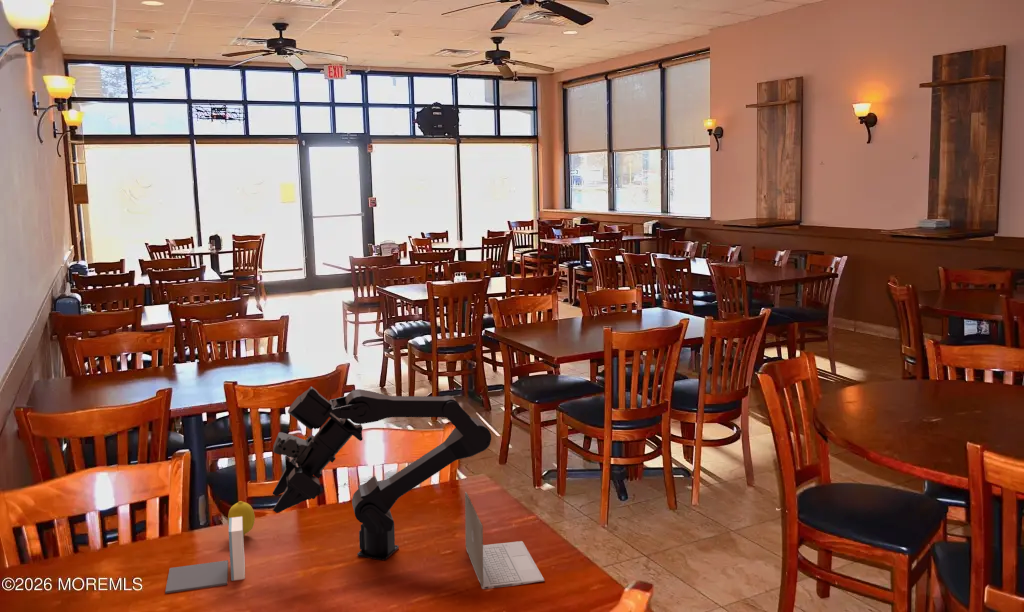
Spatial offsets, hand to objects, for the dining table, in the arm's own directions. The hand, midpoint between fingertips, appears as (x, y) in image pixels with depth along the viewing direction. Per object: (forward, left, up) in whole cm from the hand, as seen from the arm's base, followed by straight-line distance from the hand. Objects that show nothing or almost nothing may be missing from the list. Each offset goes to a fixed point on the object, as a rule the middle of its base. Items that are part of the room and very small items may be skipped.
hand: (274, 502), depth 164 cm
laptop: (-43, -16, -14) cm, 48 cm away
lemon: (+16, -9, -13) cm, 23 cm away
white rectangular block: (+6, +5, -13) cm, 15 cm away
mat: (+12, +10, -13) cm, 20 cm away
